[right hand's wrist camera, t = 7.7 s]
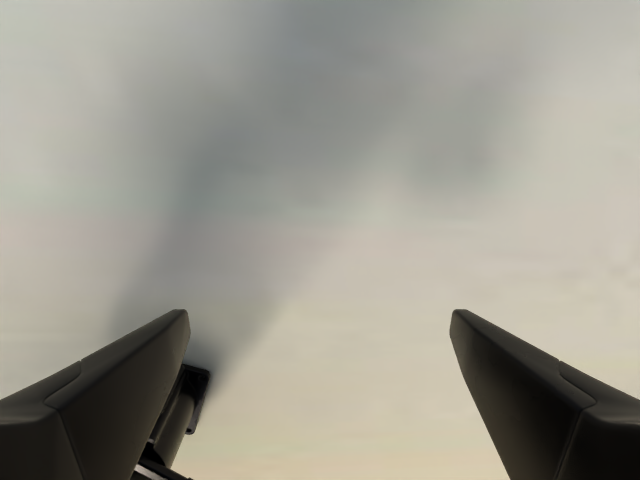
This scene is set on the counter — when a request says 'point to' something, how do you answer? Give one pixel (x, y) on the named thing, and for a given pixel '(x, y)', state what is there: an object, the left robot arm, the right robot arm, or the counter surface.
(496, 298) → the counter surface
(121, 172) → the counter surface
